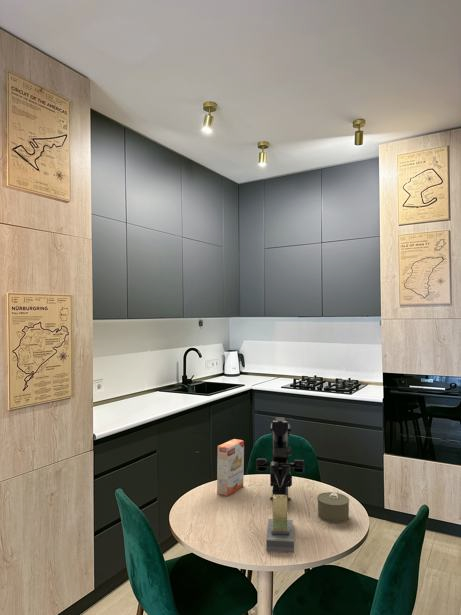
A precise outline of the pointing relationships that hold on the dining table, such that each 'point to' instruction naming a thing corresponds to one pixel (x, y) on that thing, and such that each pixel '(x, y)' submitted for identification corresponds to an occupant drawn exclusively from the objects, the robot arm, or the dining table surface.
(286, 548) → the rail
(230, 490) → the cracker box
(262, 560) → the dining table surface
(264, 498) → the dining table surface
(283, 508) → the lever
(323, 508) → the can
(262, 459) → the robot arm
